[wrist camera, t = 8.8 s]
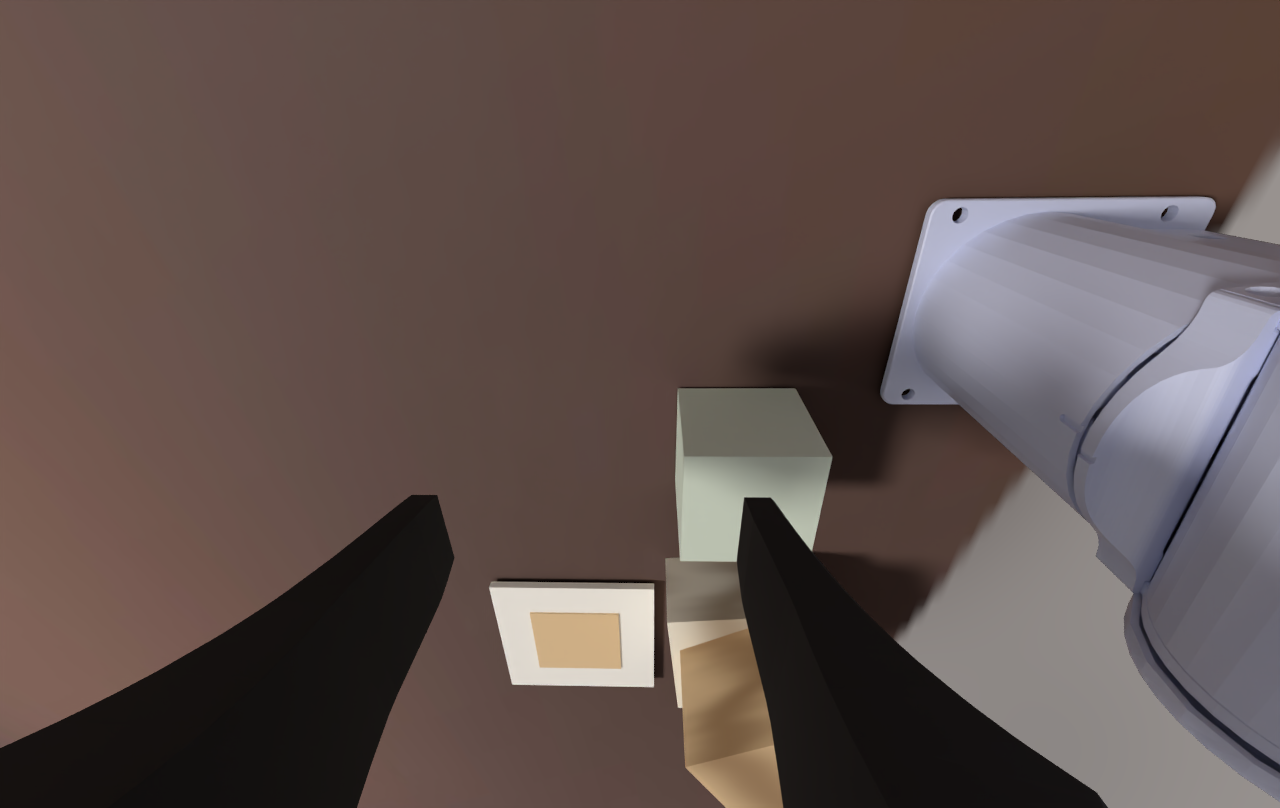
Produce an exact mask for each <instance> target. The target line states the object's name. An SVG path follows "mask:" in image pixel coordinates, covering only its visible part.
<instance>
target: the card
mask: <svg viewBox="0 0 1280 808" xmlns="http://www.w3.org/2000/svg"><path fill="white" fill-rule="evenodd" d="M489 589H490V593H491V597H492V601H493V605H494V610H495V614H496V618H497V622H498V626H499V631H500V635H501V639H502V643H503V647H504V652H505V656H506V660H507V664H508V668H509V673H510V677H511V681H512V685H569V686H625V687H654V583H574V582H491V584H490V587H489Z"/></svg>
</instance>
